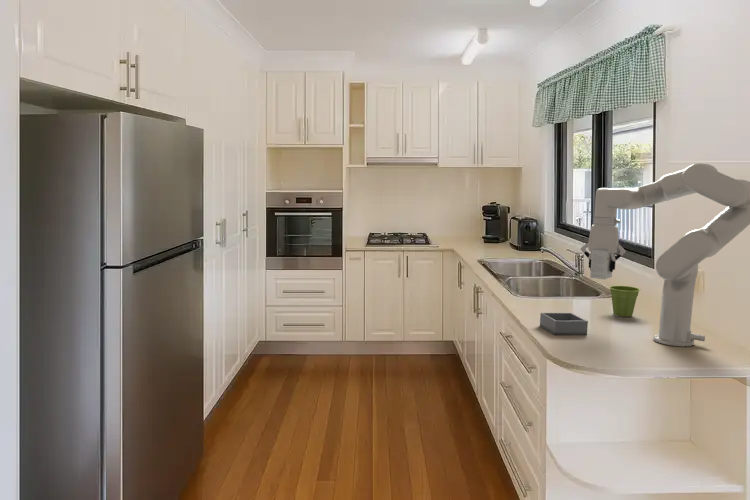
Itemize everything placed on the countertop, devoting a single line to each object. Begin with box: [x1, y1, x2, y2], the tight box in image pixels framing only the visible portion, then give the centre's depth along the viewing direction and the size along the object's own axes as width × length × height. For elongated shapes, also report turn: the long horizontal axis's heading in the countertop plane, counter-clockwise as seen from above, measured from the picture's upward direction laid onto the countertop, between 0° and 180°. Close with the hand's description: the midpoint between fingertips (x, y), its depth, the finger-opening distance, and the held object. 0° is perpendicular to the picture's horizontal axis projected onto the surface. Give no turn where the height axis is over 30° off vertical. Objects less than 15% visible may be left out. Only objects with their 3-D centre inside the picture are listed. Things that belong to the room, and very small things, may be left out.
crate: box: [539, 312, 589, 336], centre depth 223 cm, size 12×13×5 cm
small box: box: [589, 249, 613, 280], centre depth 228 cm, size 8×6×10 cm
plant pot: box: [608, 285, 641, 318], centre depth 252 cm, size 12×12×11 cm
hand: (601, 270), depth 228 cm, fingers closed on small box, 6 cm apart
